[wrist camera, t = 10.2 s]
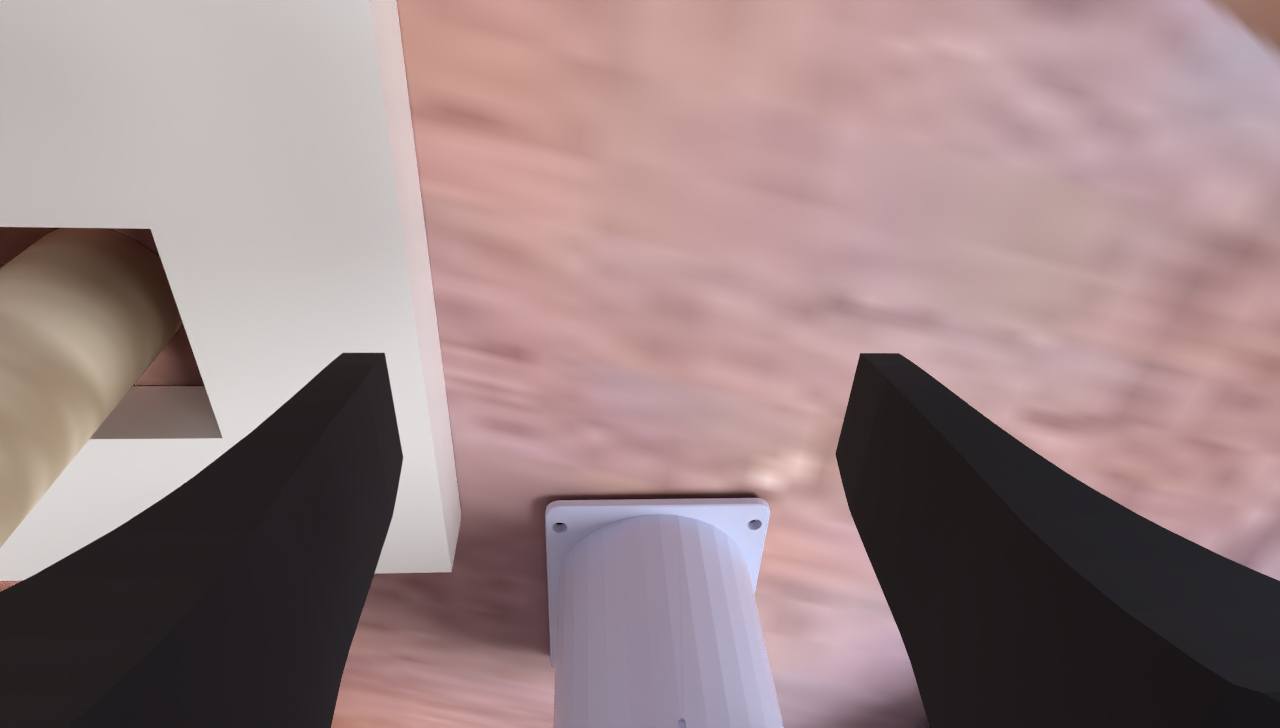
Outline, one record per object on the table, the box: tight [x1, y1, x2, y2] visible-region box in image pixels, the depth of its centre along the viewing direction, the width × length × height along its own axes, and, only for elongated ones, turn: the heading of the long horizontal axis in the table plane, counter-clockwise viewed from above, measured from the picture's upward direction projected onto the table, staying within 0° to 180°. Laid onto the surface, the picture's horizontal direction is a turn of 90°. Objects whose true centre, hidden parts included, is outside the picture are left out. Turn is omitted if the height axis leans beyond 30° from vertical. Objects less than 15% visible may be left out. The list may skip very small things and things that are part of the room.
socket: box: [0, 0, 461, 581], centre depth 21 cm, size 18×18×2 cm
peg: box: [0, 228, 182, 548], centre depth 18 cm, size 4×4×9 cm
